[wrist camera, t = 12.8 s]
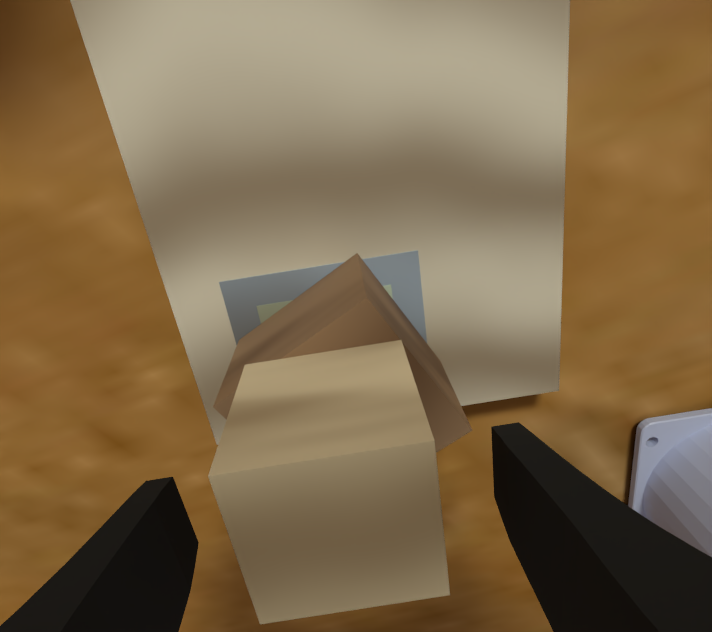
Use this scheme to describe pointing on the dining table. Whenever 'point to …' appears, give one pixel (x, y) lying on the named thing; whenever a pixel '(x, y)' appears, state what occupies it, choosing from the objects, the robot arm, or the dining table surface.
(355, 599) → the oak cube
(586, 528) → the robot arm
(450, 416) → the walnut block
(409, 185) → the base board
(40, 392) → the dining table surface
